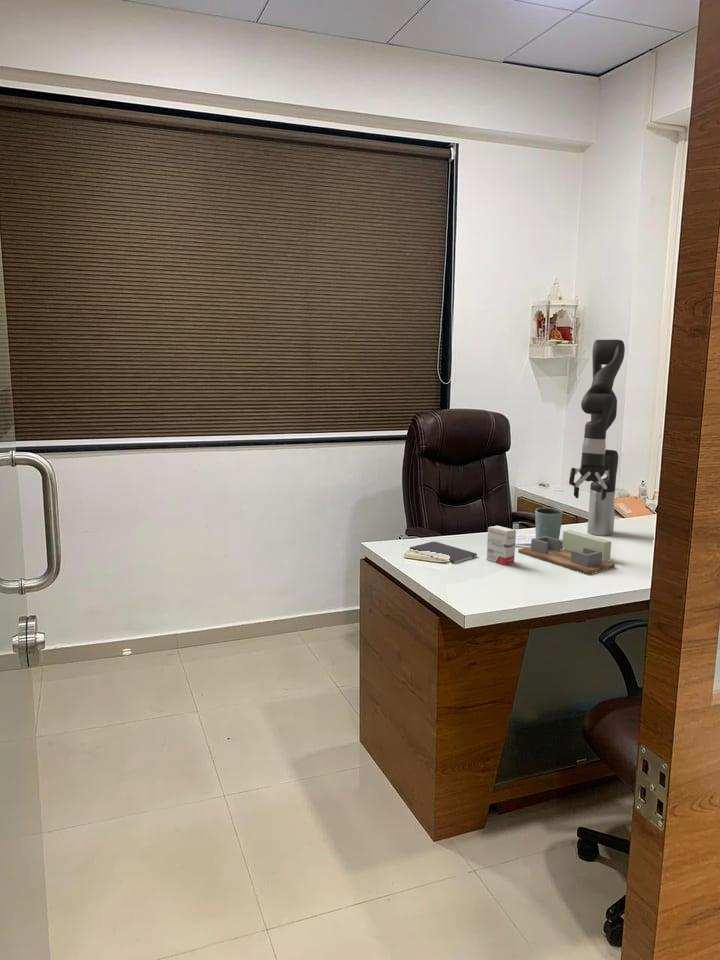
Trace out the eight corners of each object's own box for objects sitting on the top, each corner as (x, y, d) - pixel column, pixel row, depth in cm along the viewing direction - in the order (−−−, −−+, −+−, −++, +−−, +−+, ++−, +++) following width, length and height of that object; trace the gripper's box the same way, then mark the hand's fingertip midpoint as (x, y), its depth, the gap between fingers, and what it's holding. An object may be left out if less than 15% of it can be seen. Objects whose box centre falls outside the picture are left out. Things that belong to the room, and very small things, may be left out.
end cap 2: (587, 567, 230) (587, 555, 229) (570, 562, 235) (571, 550, 234) (601, 563, 234) (602, 552, 233) (584, 558, 239) (585, 547, 238)
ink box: (514, 563, 238) (516, 529, 236) (505, 565, 235) (507, 531, 233) (495, 557, 244) (496, 524, 242) (485, 559, 241) (487, 526, 239)
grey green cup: (549, 536, 271) (551, 506, 269) (567, 543, 262) (569, 512, 260) (528, 539, 267) (529, 508, 265) (545, 546, 258) (546, 514, 256)
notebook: (409, 551, 253) (453, 565, 237) (409, 547, 252) (453, 560, 236) (433, 545, 261) (478, 558, 245) (434, 541, 260) (478, 553, 245)
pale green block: (568, 548, 256) (569, 529, 255) (609, 560, 241) (611, 541, 240) (562, 549, 254) (563, 531, 253) (603, 562, 240) (604, 542, 238)
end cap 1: (545, 546, 253) (545, 535, 253) (559, 550, 248) (560, 540, 247) (530, 549, 249) (531, 538, 249) (545, 554, 244) (546, 543, 243)
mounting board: (544, 546, 258) (545, 543, 258) (614, 567, 233) (615, 564, 233) (518, 552, 250) (518, 549, 250) (587, 575, 226) (588, 571, 225)
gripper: (612, 452, 243) (608, 499, 245) (570, 450, 245) (566, 496, 247) (617, 454, 236) (613, 501, 237) (574, 451, 238) (570, 498, 239)
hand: (589, 498), depth 242 cm, fingers open, 8 cm apart
